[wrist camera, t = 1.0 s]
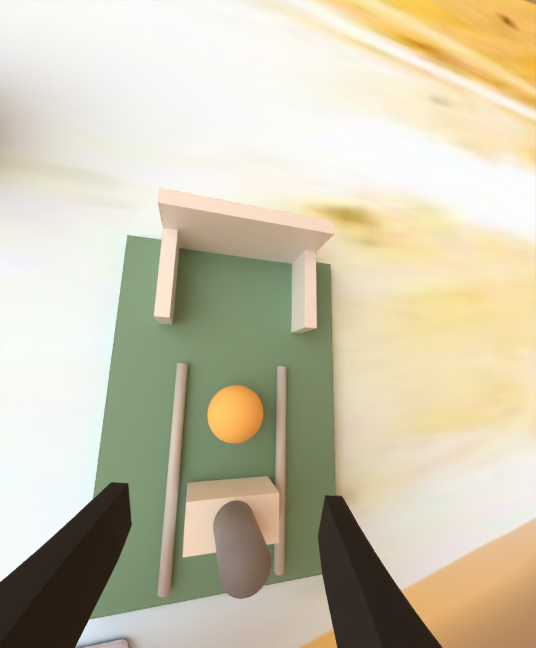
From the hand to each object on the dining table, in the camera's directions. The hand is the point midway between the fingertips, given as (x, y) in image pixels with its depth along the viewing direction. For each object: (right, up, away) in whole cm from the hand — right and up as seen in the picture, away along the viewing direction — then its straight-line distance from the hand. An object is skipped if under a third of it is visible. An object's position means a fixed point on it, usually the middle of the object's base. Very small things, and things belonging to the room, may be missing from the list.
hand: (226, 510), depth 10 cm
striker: (-1, -6, +10) cm, 12 cm away
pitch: (-2, 0, +12) cm, 12 cm away
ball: (-1, 0, +9) cm, 10 cm away
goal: (-1, +10, +13) cm, 17 cm away
